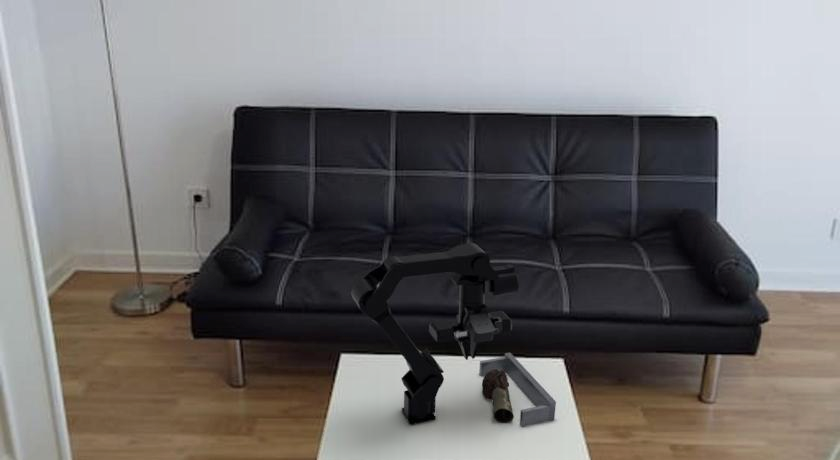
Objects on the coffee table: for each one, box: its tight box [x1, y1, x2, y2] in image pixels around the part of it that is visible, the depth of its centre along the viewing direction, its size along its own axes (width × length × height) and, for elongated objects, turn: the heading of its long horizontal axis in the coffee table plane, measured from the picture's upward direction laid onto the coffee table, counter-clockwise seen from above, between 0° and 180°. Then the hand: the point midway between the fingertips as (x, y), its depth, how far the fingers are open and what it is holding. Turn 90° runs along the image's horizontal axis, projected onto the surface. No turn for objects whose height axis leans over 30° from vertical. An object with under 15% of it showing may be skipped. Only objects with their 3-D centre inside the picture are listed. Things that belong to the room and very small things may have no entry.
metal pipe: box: [481, 369, 515, 424], centre depth 189 cm, size 18×7×6 cm, turn 179°
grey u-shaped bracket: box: [478, 352, 557, 428], centre depth 191 cm, size 8×24×5 cm, turn 20°
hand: (469, 358), depth 183 cm, fingers closed
